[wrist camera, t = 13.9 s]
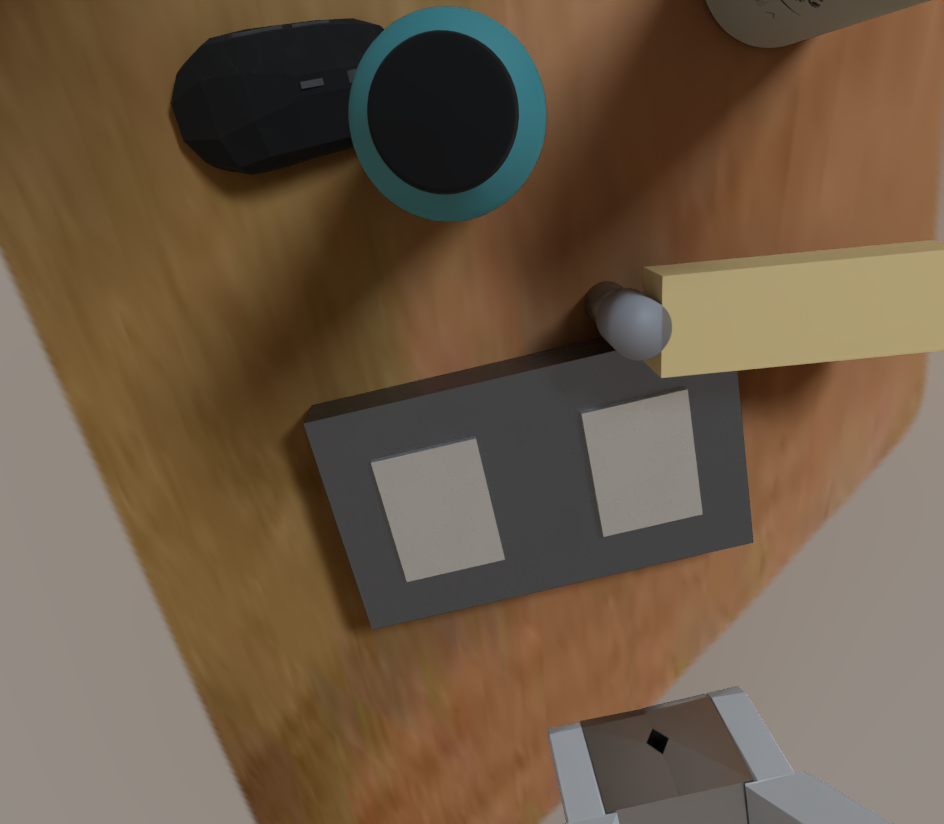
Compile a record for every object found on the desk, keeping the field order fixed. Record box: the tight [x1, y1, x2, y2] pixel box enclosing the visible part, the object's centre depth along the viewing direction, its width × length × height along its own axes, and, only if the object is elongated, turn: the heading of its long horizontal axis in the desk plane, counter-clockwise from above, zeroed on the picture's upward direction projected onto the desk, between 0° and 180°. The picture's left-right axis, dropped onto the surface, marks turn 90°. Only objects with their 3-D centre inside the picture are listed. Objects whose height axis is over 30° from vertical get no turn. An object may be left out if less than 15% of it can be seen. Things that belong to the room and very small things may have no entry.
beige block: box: [596, 240, 944, 378], centre depth 35 cm, size 18×5×3 cm, turn 95°
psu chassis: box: [303, 281, 753, 629], centre depth 41 cm, size 17×24×4 cm
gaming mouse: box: [171, 18, 384, 174], centre depth 34 cm, size 6×15×4 cm, turn 102°
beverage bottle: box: [348, 6, 546, 222], centre depth 27 cm, size 6×7×20 cm
